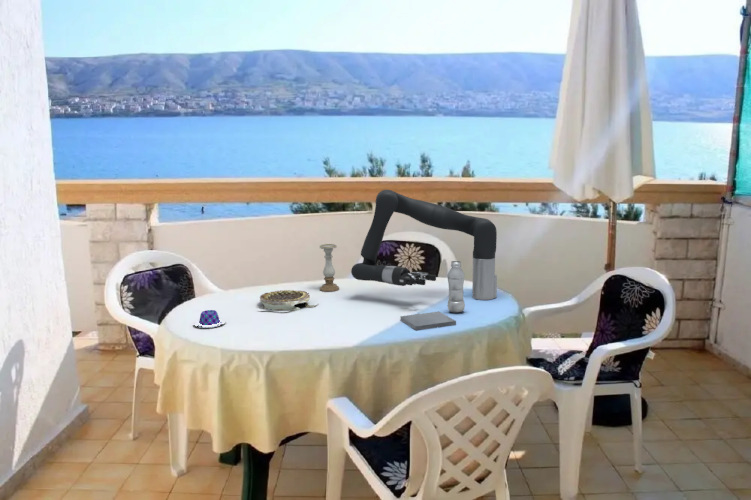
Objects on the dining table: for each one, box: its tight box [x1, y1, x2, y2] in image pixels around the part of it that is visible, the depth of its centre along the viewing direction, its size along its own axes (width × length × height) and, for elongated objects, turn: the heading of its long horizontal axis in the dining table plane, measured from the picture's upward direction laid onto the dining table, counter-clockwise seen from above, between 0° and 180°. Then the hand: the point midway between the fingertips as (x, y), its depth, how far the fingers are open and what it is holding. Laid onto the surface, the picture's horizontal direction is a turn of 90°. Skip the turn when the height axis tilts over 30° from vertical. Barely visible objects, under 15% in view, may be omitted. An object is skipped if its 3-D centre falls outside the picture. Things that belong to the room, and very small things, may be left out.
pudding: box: [198, 309, 221, 325], centre depth 242 cm, size 12×12×5 cm
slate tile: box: [399, 311, 457, 331], centre depth 239 cm, size 16×14×2 cm
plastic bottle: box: [446, 260, 466, 314], centre depth 250 cm, size 6×7×20 cm
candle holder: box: [319, 243, 340, 293], centre depth 291 cm, size 9×9×20 cm
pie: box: [259, 289, 318, 314], centre depth 269 cm, size 28×27×5 cm
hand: (430, 280), depth 256 cm, fingers open, 8 cm apart
